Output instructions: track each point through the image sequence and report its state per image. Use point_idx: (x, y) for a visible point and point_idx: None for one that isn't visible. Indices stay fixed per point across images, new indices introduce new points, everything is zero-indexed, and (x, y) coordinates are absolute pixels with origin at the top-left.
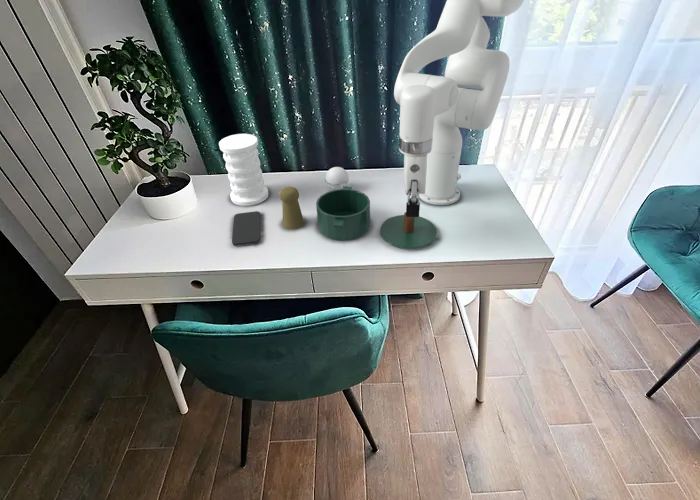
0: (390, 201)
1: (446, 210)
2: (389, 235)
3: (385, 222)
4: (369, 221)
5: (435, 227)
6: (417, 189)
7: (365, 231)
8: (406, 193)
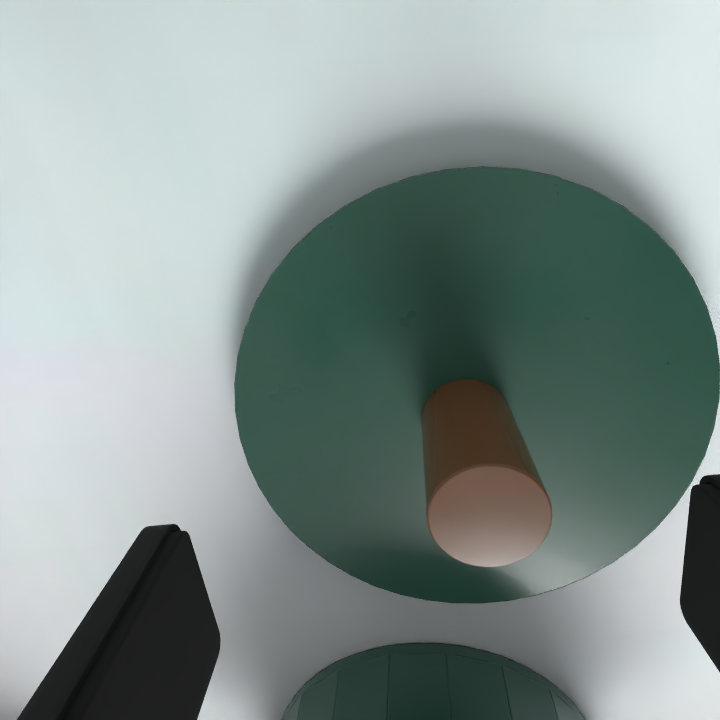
0: (74, 555)
1: (23, 107)
2: (557, 541)
3: (388, 579)
4: (443, 694)
5: (383, 190)
6: (147, 612)
7: (509, 673)
8: (208, 663)
